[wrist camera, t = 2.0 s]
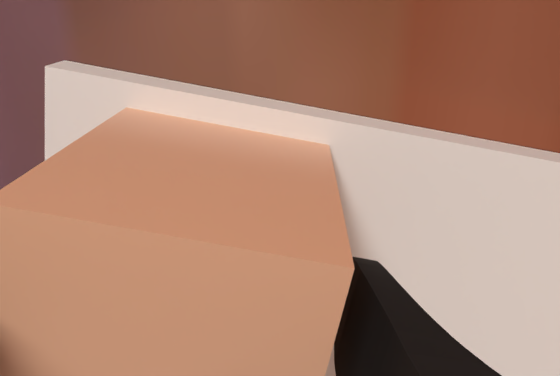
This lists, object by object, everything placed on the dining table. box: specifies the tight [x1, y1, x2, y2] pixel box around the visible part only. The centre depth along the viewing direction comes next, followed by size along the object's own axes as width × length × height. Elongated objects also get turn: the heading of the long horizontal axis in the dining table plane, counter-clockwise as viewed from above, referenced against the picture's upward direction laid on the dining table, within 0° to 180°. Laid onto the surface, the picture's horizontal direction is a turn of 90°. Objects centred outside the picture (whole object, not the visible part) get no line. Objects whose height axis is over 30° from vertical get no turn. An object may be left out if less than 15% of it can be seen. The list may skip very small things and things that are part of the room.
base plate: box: [45, 60, 560, 376], centre depth 17 cm, size 18×17×1 cm
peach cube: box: [0, 107, 355, 376], centre depth 11 cm, size 6×6×6 cm
